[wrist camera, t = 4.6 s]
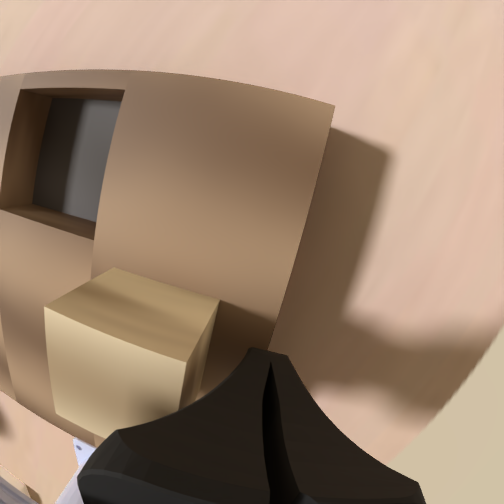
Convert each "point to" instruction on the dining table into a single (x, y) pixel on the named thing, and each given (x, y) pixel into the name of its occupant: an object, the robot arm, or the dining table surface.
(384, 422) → the dining table surface
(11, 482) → the holder
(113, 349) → the maple block
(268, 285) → the trap board
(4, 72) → the dining table surface
